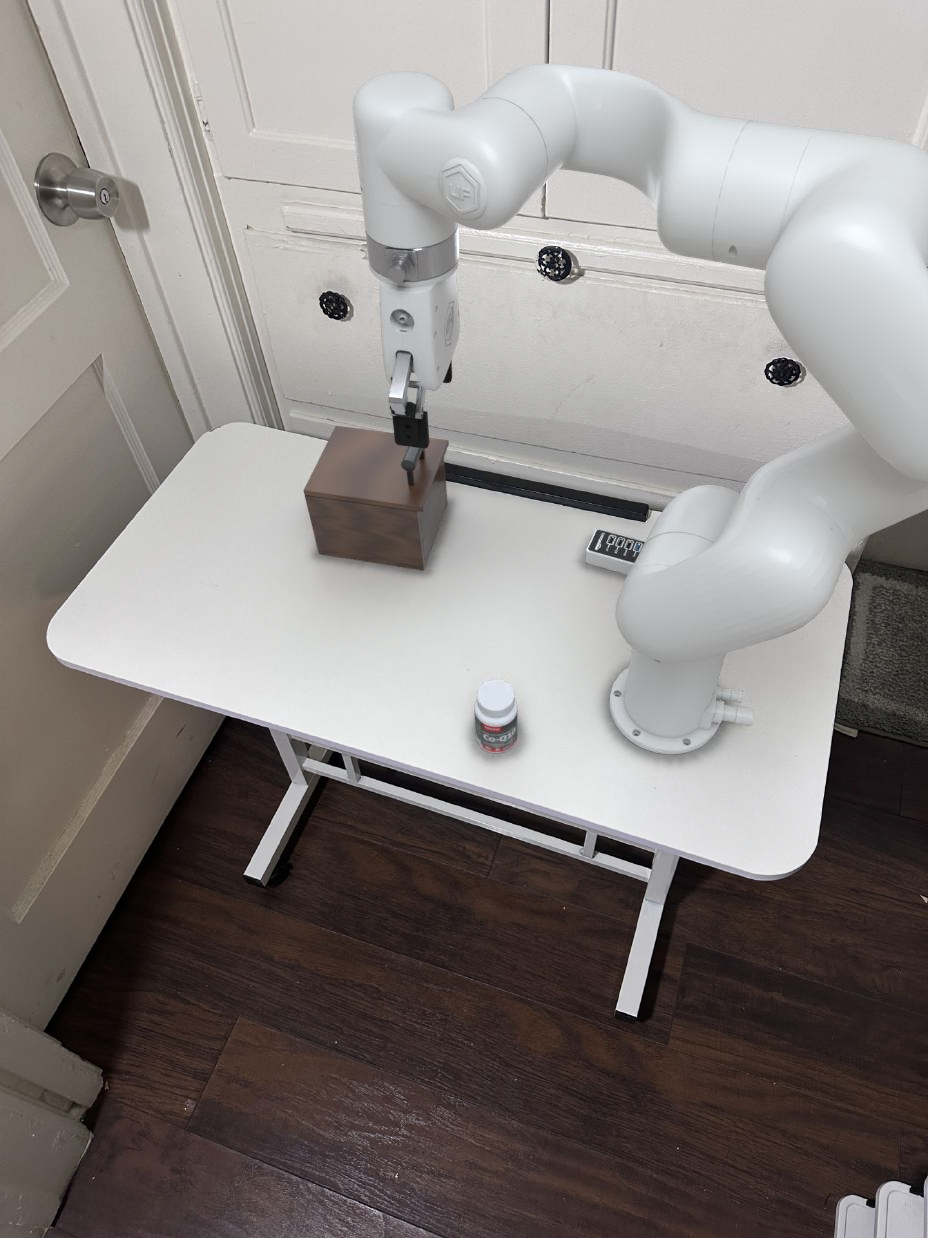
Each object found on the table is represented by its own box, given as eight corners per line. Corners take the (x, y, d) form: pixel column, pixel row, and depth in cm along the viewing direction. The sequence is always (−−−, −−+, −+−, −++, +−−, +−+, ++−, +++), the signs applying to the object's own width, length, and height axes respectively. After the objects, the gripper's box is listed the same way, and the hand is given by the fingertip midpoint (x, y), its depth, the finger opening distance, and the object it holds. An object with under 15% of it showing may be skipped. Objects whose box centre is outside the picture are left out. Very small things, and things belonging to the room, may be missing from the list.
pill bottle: (482, 759, 102) (480, 718, 96) (470, 724, 105) (467, 682, 99) (523, 748, 103) (523, 707, 96) (510, 714, 106) (510, 672, 99)
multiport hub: (693, 593, 116) (696, 581, 114) (584, 562, 120) (585, 550, 118) (702, 569, 118) (705, 557, 116) (595, 539, 122) (596, 527, 120)
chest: (447, 504, 128) (443, 444, 119) (423, 570, 120) (417, 511, 112) (348, 489, 130) (336, 430, 122) (318, 554, 123) (304, 495, 114)
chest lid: (449, 444, 119) (446, 413, 115) (423, 512, 111) (420, 481, 108) (336, 429, 122) (330, 399, 118) (304, 495, 114) (296, 464, 110)
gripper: (433, 311, 70) (442, 477, 83) (479, 196, 80) (480, 361, 93) (338, 301, 71) (362, 467, 84) (395, 189, 81) (409, 353, 95)
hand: (424, 411), depth 89 cm, fingers open, 9 cm apart
